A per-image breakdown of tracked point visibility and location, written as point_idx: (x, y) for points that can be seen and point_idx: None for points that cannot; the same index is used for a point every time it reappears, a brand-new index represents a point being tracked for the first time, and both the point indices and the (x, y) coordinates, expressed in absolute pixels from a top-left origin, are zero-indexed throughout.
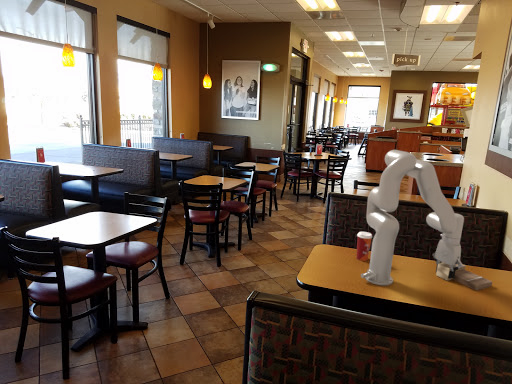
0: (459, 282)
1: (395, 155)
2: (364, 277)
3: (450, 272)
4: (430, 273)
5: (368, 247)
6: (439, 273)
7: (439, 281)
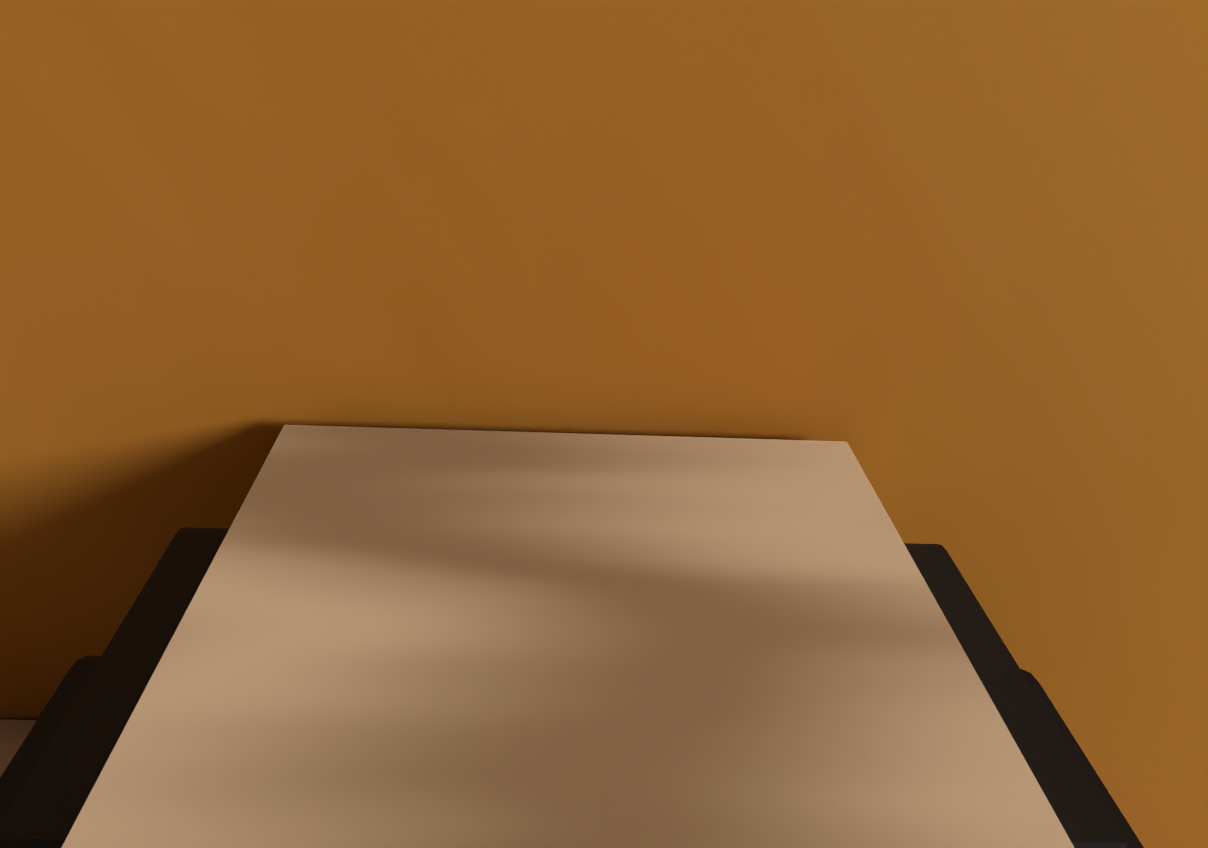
0: (33, 725)
1: None
2: None
3: (47, 750)
4: (1096, 419)
5: None
6: (722, 516)
7: (392, 54)
